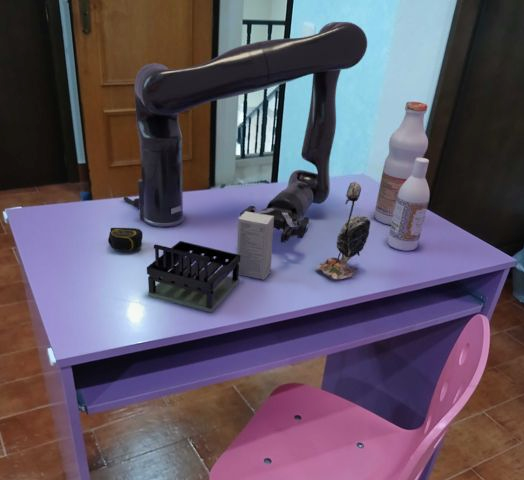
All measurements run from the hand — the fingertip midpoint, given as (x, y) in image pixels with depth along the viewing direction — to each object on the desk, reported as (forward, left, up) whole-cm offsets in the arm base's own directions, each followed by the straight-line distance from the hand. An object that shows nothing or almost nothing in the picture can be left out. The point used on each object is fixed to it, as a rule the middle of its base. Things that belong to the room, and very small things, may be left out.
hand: (262, 233), depth 113 cm
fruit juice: (+21, +41, -7) cm, 46 cm away
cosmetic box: (0, -4, -7) cm, 8 cm away
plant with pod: (+16, +6, -7) cm, 18 cm away
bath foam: (+26, +26, -7) cm, 37 cm away
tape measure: (-29, -6, -7) cm, 31 cm away
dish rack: (-8, -16, -7) cm, 19 cm away
